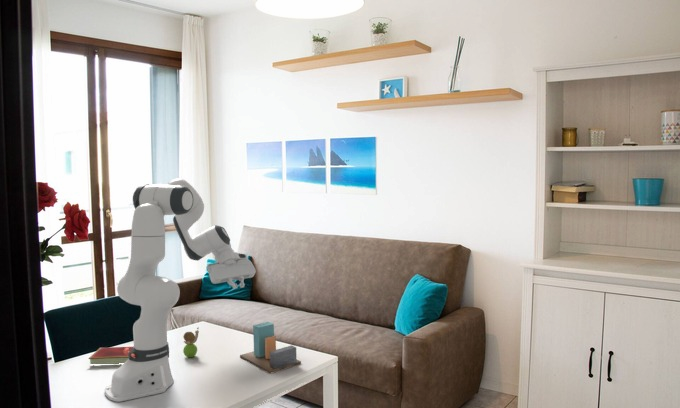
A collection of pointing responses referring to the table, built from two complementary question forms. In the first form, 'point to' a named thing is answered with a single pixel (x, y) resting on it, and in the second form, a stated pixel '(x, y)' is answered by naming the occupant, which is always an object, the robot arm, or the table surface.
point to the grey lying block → (283, 357)
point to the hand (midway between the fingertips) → (239, 287)
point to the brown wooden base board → (263, 362)
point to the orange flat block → (269, 346)
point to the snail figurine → (190, 343)
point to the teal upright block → (261, 337)
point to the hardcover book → (109, 355)
